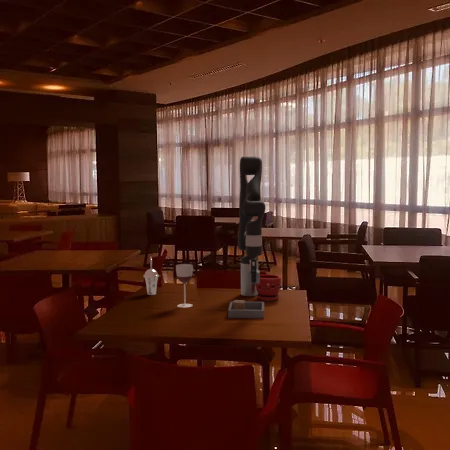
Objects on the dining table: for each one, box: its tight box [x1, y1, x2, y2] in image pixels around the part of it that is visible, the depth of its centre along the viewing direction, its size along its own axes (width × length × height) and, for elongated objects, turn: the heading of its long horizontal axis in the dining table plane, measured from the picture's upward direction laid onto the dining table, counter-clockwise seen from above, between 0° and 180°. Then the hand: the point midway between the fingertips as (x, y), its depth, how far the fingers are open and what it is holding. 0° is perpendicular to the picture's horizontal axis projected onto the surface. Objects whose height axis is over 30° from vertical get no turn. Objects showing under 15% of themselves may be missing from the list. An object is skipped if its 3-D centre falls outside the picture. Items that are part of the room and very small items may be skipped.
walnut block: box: [232, 299, 246, 310], centre depth 238 cm, size 5×5×5 cm
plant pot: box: [256, 274, 282, 302], centre depth 265 cm, size 13×13×12 cm
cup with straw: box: [143, 256, 160, 296], centre depth 278 cm, size 8×9×20 cm
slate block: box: [248, 269, 261, 283], centre depth 236 cm, size 5×5×5 cm
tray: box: [227, 301, 265, 319], centre depth 238 cm, size 16×16×4 cm
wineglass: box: [175, 263, 194, 309], centre depth 253 cm, size 8×9×20 cm
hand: (254, 281), depth 236 cm, fingers closed on slate block, 5 cm apart
